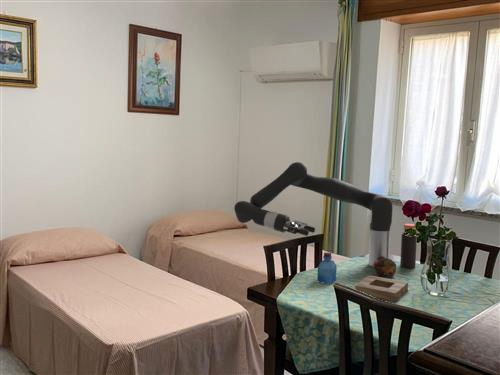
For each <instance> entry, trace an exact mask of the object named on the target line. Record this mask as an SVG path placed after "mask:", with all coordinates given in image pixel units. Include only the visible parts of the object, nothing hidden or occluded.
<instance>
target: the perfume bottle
mask: <svg viewBox="0 0 500 375" xmlns="http://www.w3.org/2000/svg"><path fill="white" fill-rule="evenodd" d="M322 257H323V260H321V261H320V263H319V265H318V267H317V276H316V277H317V281H319V282H318V283H321V282H324V283H323V284H327V283H329V285H332V284H334V283H335V282H336V281H337V270H338V268H337V264H336V262H335V261H334V260H332V258H333V257H332V252H323V256H322Z"/></svg>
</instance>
